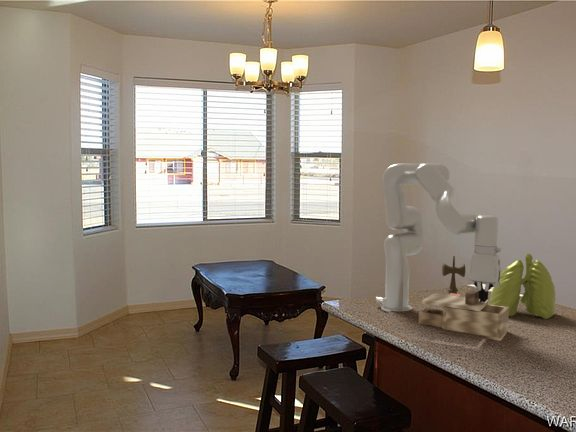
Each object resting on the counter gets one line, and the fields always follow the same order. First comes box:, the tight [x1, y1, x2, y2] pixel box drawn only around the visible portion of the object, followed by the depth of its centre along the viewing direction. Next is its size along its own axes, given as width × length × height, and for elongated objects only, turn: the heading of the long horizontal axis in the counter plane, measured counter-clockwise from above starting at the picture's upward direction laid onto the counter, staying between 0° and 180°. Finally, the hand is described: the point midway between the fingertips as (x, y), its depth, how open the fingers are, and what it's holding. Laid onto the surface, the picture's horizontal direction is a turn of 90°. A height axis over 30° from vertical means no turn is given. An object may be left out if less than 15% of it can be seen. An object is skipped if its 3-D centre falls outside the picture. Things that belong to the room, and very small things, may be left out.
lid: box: [421, 288, 490, 311], centre depth 210 cm, size 20×13×5 cm, turn 59°
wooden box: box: [418, 303, 510, 342], centre depth 209 cm, size 30×13×9 cm, turn 59°
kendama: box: [441, 255, 466, 295], centre depth 253 cm, size 6×10×20 cm, turn 82°
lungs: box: [488, 253, 557, 320], centre depth 233 cm, size 25×16×24 cm, turn 77°
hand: (483, 301), depth 205 cm, fingers closed
